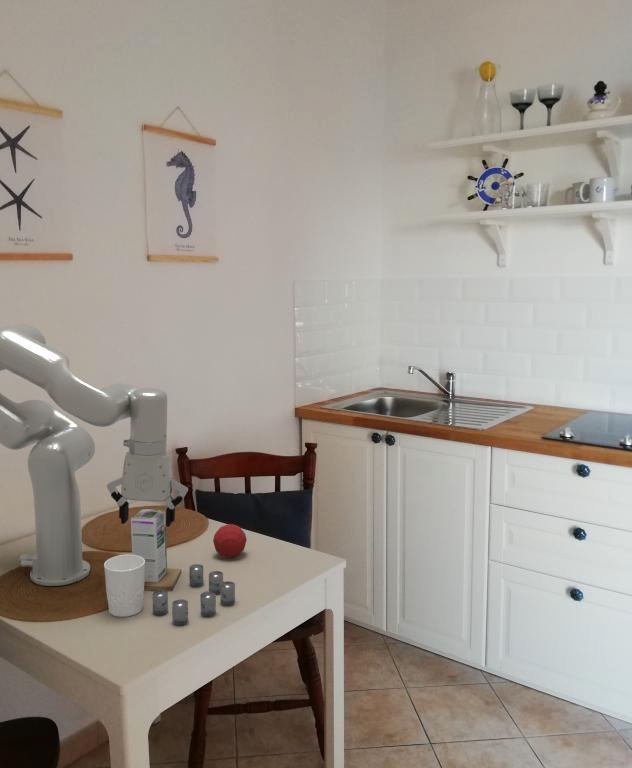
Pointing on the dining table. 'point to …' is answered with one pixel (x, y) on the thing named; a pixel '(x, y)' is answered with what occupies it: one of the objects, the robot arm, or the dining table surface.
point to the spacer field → (206, 598)
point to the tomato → (229, 540)
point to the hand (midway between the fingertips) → (146, 523)
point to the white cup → (125, 584)
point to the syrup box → (150, 542)
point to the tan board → (165, 581)
